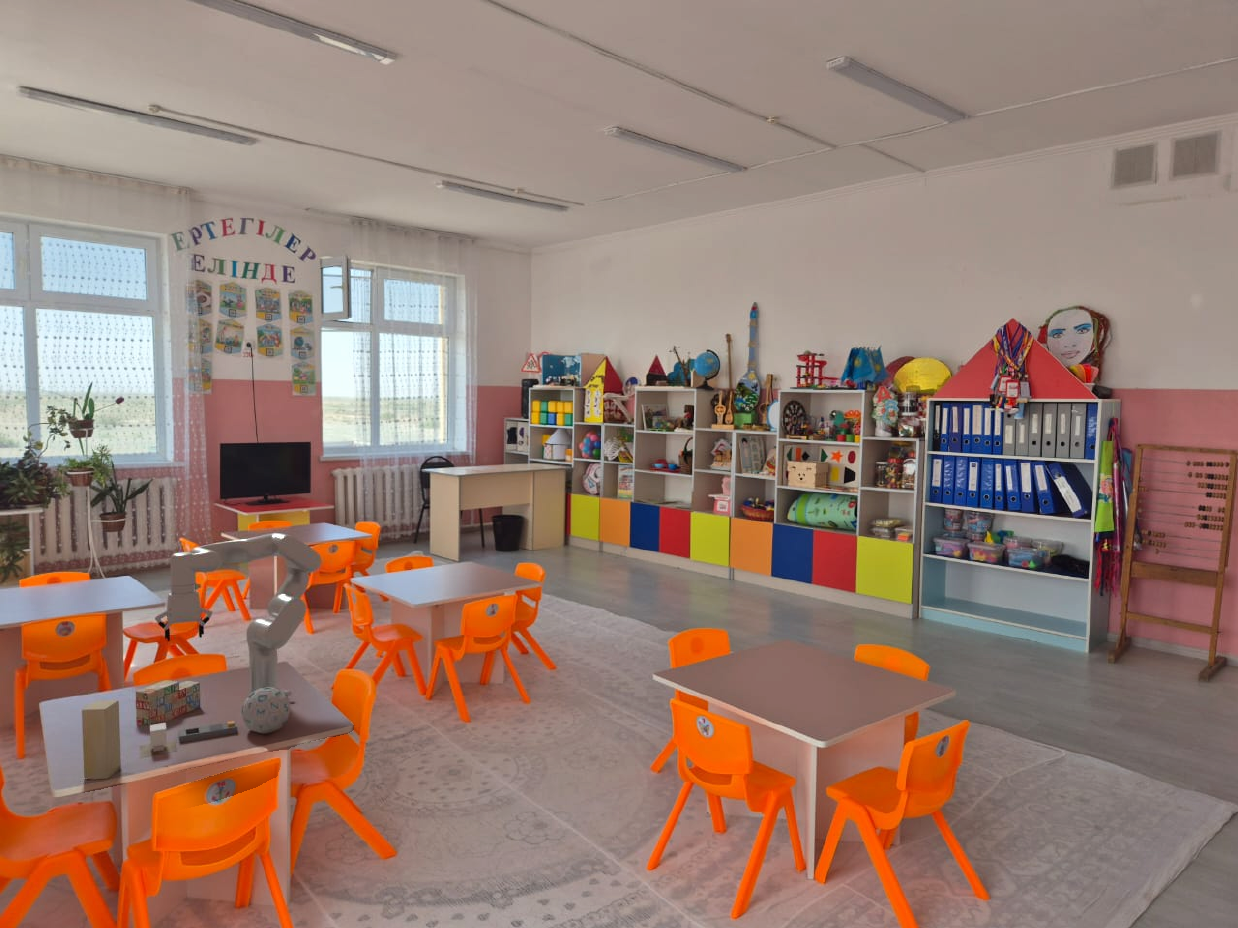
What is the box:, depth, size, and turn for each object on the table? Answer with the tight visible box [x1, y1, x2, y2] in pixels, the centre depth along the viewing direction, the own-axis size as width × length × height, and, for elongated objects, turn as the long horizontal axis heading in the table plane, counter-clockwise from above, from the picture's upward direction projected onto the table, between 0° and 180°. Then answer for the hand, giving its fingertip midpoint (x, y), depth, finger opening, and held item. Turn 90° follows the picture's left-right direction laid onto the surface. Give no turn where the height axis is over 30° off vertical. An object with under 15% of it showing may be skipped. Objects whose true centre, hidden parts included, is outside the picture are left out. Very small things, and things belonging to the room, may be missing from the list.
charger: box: [149, 722, 168, 752], centre depth 261 cm, size 4×6×7 cm
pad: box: [139, 739, 178, 759], centre depth 261 cm, size 10×10×1 cm
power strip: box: [177, 720, 238, 743], centre depth 273 cm, size 17×6×4 cm, turn 121°
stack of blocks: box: [135, 679, 201, 726], centre depth 291 cm, size 21×6×12 cm, turn 160°
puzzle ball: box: [241, 687, 291, 735], centre depth 278 cm, size 15×15×15 cm
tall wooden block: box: [81, 699, 122, 780], centre depth 245 cm, size 8×7×21 cm
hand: (184, 638), depth 281 cm, fingers open, 9 cm apart
